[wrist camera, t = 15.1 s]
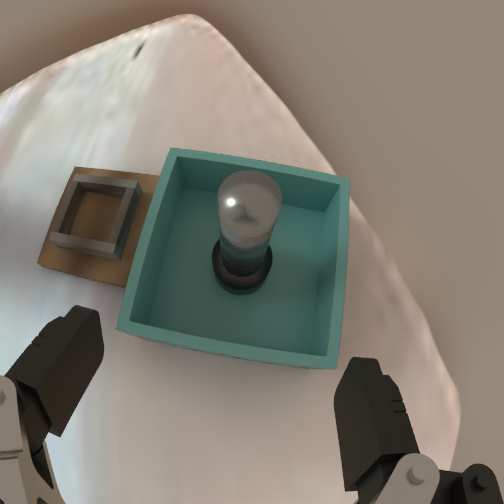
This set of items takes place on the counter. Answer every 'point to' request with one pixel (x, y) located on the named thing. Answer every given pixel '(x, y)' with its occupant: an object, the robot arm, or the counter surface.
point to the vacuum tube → (245, 231)
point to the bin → (277, 282)
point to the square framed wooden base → (98, 224)
